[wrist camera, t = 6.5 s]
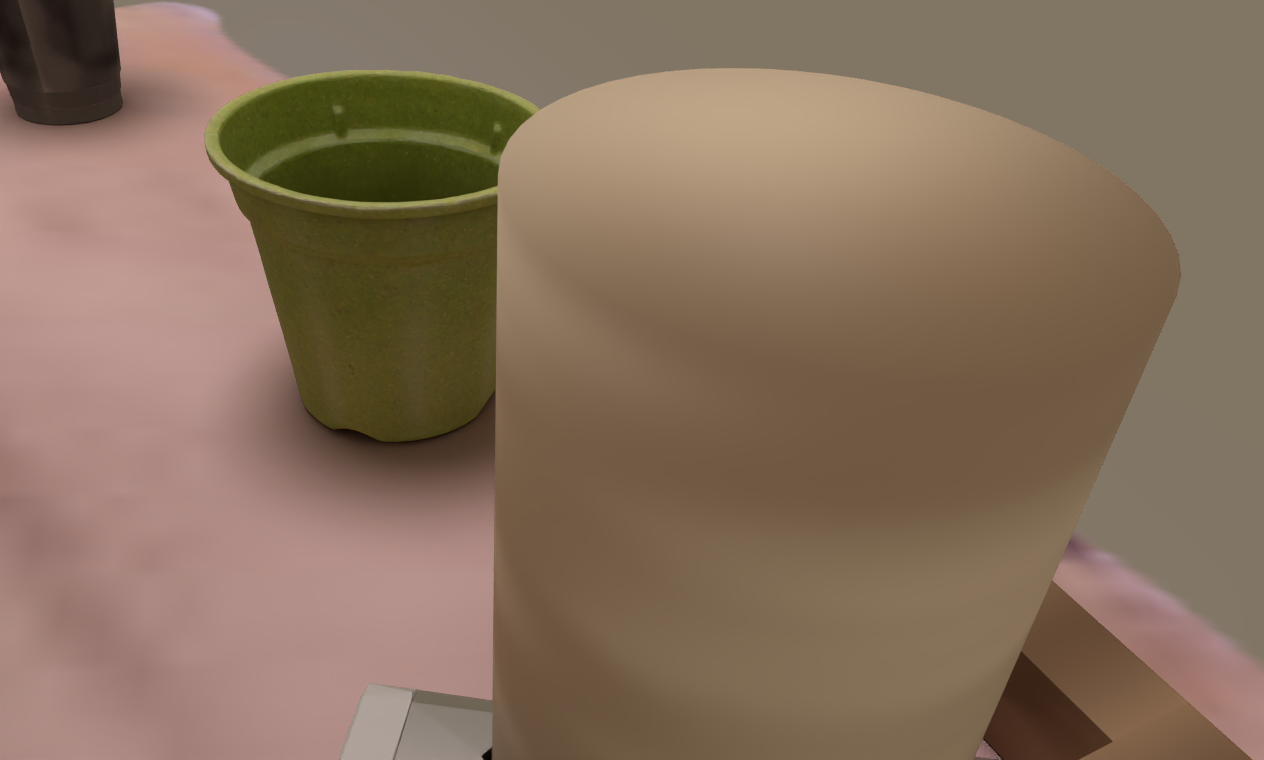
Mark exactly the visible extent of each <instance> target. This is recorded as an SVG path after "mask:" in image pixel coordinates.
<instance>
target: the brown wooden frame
mask: <svg viewBox="0 0 1264 760" xmlns="http://www.w3.org/2000/svg"><path fill="white" fill-rule="evenodd" d="M983 738H984V739H985V740H986V741H987V742H988V743H989V744H990V745H991V746H992V747H993V749H994V750H995V751H996V752H997V753H998V754H999V755H1000V756H1001V757H1002V758H1003V759H1004V760H1252V759H1251V758H1250V757H1249V756H1248V755H1247V754H1245V753H1244V752H1243V751H1242V750H1241V749H1240V748H1239V747H1238V746H1237V745H1235V744H1234V743H1233V742H1232V741H1231V740H1230V739H1229V738H1228V737H1226V736H1225V735H1224V734H1223V733H1222V732H1221V731H1220V730H1219V729H1218V728H1216V727H1215V726H1214V725H1213V724H1212V723H1211V722H1210V721H1209V720H1207V719H1206V718H1205V717H1204V716H1203V715H1202V714H1201V713H1200V712H1199V711H1197V710H1196V709H1195V708H1194V707H1193V706H1192V705H1191V704H1190V703H1188V702H1187V701H1186V700H1185V699H1184V698H1183V697H1182V696H1181V695H1180V694H1178V693H1177V692H1176V691H1175V690H1174V689H1173V688H1172V687H1171V686H1169V685H1168V684H1167V683H1166V682H1165V681H1164V680H1163V679H1162V678H1161V677H1159V676H1158V675H1157V674H1156V673H1155V672H1154V671H1153V670H1152V669H1150V668H1149V667H1148V666H1147V665H1146V664H1145V663H1144V662H1143V661H1142V660H1140V659H1139V658H1138V657H1137V656H1136V655H1135V654H1134V653H1133V652H1131V651H1130V650H1129V649H1128V648H1127V647H1126V646H1125V645H1124V644H1123V643H1121V642H1120V641H1119V640H1118V639H1117V638H1116V637H1115V636H1114V635H1112V634H1111V633H1110V632H1109V631H1108V630H1107V629H1106V628H1105V627H1104V626H1102V625H1101V624H1100V623H1099V622H1098V621H1097V620H1096V619H1095V618H1093V617H1092V616H1091V615H1090V614H1089V613H1088V612H1087V611H1086V610H1085V609H1083V608H1082V607H1081V606H1080V605H1079V604H1078V603H1077V602H1076V601H1074V600H1073V599H1072V598H1071V597H1070V596H1069V595H1068V594H1067V593H1066V592H1064V591H1063V590H1062V589H1061V588H1060V587H1059V586H1058V585H1057V584H1055V583H1054V582H1053V581H1051V584H1050V586H1049V588H1048V590H1047V593H1046V595H1045V597H1044V600H1043V602H1042V604H1041V606H1040V609H1039V611H1038V613H1037V615H1036V618H1035V620H1034V622H1033V625H1032V627H1031V629H1030V631H1029V634H1028V636H1027V638H1026V641H1025V643H1024V645H1023V647H1022V650H1021V652H1020V654H1019V657H1018V659H1017V661H1016V663H1015V666H1014V668H1013V670H1012V673H1011V675H1010V677H1009V679H1008V682H1007V684H1006V686H1005V689H1004V691H1003V693H1002V695H1001V698H1000V700H999V702H998V705H997V707H996V709H995V711H994V714H993V716H992V718H991V721H990V723H989V725H988V727H987V730H986V732H985V734H984V737H983Z"/></svg>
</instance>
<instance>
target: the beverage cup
mask: <svg viewBox="0 0 1264 760" xmlns="http://www.w3.org/2000/svg"><path fill="white" fill-rule="evenodd" d="M120 70H121V66H120V57H119V48H118V39H117V30H116V20H115V11H114V3H113V0H0V73H1V76H2V78H3V80H4V83H6V85H7V87H8V90H9V92H10V95H11V97H12V99H13V101H14V105H15V109H16V112H17V114H18V116H20V117H22V118H23V119H25V120H28V121H32V122H36V123H41V124H52V125H61V124H77V123H84V122H90V121H94V120H98V119H102V118H104V117H107V116H109V115H111V114H114V113H115V112H116V111H118V110H119V109H120V108H121V106H122V103H123V101H122V96H121V91H120V88H121V82H120Z"/></svg>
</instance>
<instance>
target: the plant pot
mask: <svg viewBox="0 0 1264 760" xmlns="http://www.w3.org/2000/svg"><path fill="white" fill-rule="evenodd" d="M539 110H540V109H538V108H537V107H536V106H535V105H533V104H532V103H530V102H529V101H527V100H525V99H523V98H521V97H519V96H517V95H514V94H512V93H510V92H508V91H503V90H501V89H499V88H496V87H492V86H489V85H486V84H483V83H479V82H475V81H471V80H464V79H460V78H457V77H453V76H448V75H439V74H433V73H426V72H425V73H424V72H413V71H393V70H349V71H337V72H326V73H317V74H311V75H304V76H299V77H295V78H291V79H287V80H283V81H278V82H275V83H272V84H269V85H267V86H264V87H259V88H257V89H255V90H252V91H250V92H248V93H246V94H243V95H241V96H239V97H237V98H236V99H234V100H232V101H230V102H229V103H227V104H226V105H225V106H223V107H222V108H221V109H220V110H219V111H218V112H217V113H216V114H215V115H214V116H213V117H212V118H211V119H210V121H209V123H208V124H207V127H206V129H205V134H204V138H205V147H206V151H207V155H208V157H209V160H210V162H211V163H212V165H213V166H214V167H215V169H216V170H217V171H218V172H219V173H220V174H221V175H222V176H223V177H224V178H225V179H227V180H228V181H229V183H230V186H231V189H232V192H233V194H234V197H235V200H236V203H237V205H238V207H239V209H240V210H241V212H242V213H243V214H244V216H245V217H246V218H247V219H248V220H249V221H250V223H251V226H252V229H253V233H254V236H255V239H256V243H257V246H258V249H259V253H260V256H261V260H262V263H263V267H264V270H265V274H266V278H267V281H268V285H269V288H270V291H271V295H272V298H273V301H274V305H275V308H276V312H277V315H278V318H279V322H280V325H281V329H282V332H283V335H284V339H285V342H286V345H287V349H288V352H289V356H290V360H291V363H292V367H293V370H294V374H295V377H296V381H297V384H298V388H299V392H300V396H301V399H302V401H303V404H304V405H305V407H306V409H307V410H308V411H309V412H310V413H311V414H312V415H313V416H314V417H315V418H316V419H317V420H318V421H320V422H321V423H323V424H324V425H326V426H327V427H329V428H331V429H341V428H345V429H351V430H356V431H359V432H361V433H364V434H366V435H368V436H370V437H372V438H374V439H377V440H379V441H385V442H402V441H413V440H420V439H425V438H430V437H434V436H437V435H441V434H444V433H447V432H450V431H452V430H455V429H457V428H459V427H461V426H463V425H465V424H466V423H468V422H470V421H471V420H473V419H474V418H475V417H476V416H477V415H478V414H479V413H480V411H481V410H482V408H483V407H484V405H485V403H486V402H487V400H488V399H489V397H490V396H491V395H492V393H493V392H494V391H495V389H496V316H497V218H498V171H499V165H500V159H501V155H502V153H503V151H504V149H505V147H506V145H507V143H508V140H509V139H510V138H511V136H512V135H513V134H514V133H515V132H516V131H517V129H518V128H519V127H520V126H521V125H522V124H523V123H524V122H525V121H527V120H528V119H529V118H530V117H532V116H533V115H534V114H535V113H537V112H538V111H539Z"/></svg>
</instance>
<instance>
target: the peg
mask: <svg viewBox="0 0 1264 760" xmlns="http://www.w3.org/2000/svg"><path fill="white" fill-rule="evenodd" d="M1180 278H1181V272H1180V262H1179V254H1178V252H1177V249H1176V247H1175V244H1174V242H1173V239H1172V237H1171V235H1170V233H1169V232H1168V230H1167V229H1166V227H1165V226H1164V224H1163V223H1162V221H1161V220H1160V218H1159V217H1158V215H1157V214H1156V213H1155V212H1154V211H1153V210H1152V209H1151V208H1150V207H1149V205H1148V204H1147V203H1146V202H1145V201H1144V200H1143V199H1142V198H1141V197H1140V196H1139V195H1138V194H1137V193H1136V192H1134V191H1133V190H1132V189H1131V188H1129V187H1128V186H1127V185H1126V184H1125V183H1124V182H1122V181H1121V180H1120V179H1119V178H1118V177H1116V176H1114V175H1113V174H1112V173H1110V172H1109V171H1107V170H1106V169H1104V168H1103V167H1101V166H1100V165H1098V164H1097V163H1096V162H1094V161H1093V160H1091V159H1089V158H1087V157H1085V156H1084V155H1082V154H1080V153H1079V152H1077V151H1075V150H1073V149H1072V148H1070V147H1068V146H1066V145H1064V144H1062V143H1060V142H1058V141H1056V140H1054V139H1052V138H1050V137H1048V136H1046V135H1044V134H1042V133H1040V132H1037V131H1035V130H1033V129H1031V128H1028V127H1026V126H1023V125H1021V124H1018V123H1016V122H1014V121H1011V120H1008V119H1006V118H1004V117H1001V116H998V115H995V114H992V113H990V112H987V111H984V110H981V109H978V108H975V107H972V106H969V105H966V104H963V103H959V102H956V101H953V100H949V99H946V98H942V97H939V96H935V95H931V94H927V93H923V92H919V91H915V90H911V89H907V88H903V87H898V86H893V85H888V84H883V83H878V82H873V81H868V80H862V79H856V78H848V77H843V76H837V75H828V74H820V73H811V72H801V71H789V70H775V69H749V68H719V69H718V68H716V69H692V70H682V71H681V70H680V71H668V72H661V73H654V74H646V75H639V76H634V77H629V78H625V79H620V80H615V81H611V82H607V83H604V84H600V85H597V86H593V87H590V88H587V89H583V90H581V91H578V92H576V93H574V94H571V95H569V96H566V97H564V98H561V99H559V100H557V101H555V102H554V103H552V104H550V105H548V106H547V107H545V108H543V109H541V110H539V111H538V112H537V113H535V114H534V115H533V116H532V117H530V118H529V119H528V120H527V121H525V122H524V123H523V124H522V125H521V126H520V127H519V128H518V129H517V131H516V132H515V133H514V134H513V135H512V136H511V138H510V139H509V140H508V143H507V145H506V147H505V149H504V151H503V153H502V155H501V159H500V165H499V171H498V218H497V316H496V415H495V514H494V612H493V711H492V760H973V759H974V757H975V755H976V752H977V750H978V748H979V746H980V743H981V741H982V739H983V737H984V734H985V732H986V730H987V727H988V725H989V723H990V721H991V718H992V716H993V714H994V711H995V709H996V707H997V705H998V702H999V700H1000V698H1001V695H1002V693H1003V691H1004V689H1005V686H1006V684H1007V682H1008V679H1009V677H1010V675H1011V673H1012V670H1013V668H1014V666H1015V663H1016V661H1017V659H1018V657H1019V654H1020V652H1021V650H1022V647H1023V645H1024V643H1025V641H1026V638H1027V636H1028V634H1029V631H1030V629H1031V627H1032V625H1033V622H1034V620H1035V618H1036V615H1037V613H1038V611H1039V609H1040V606H1041V604H1042V602H1043V600H1044V597H1045V595H1046V593H1047V590H1048V588H1049V586H1050V584H1051V581H1052V579H1053V577H1054V574H1055V572H1056V570H1057V568H1058V565H1059V563H1060V561H1061V558H1062V556H1063V554H1064V552H1065V549H1066V547H1067V545H1068V542H1069V540H1070V538H1071V536H1072V533H1073V531H1074V529H1075V526H1076V524H1077V522H1078V519H1079V517H1080V515H1081V513H1082V510H1083V508H1084V506H1085V504H1086V501H1087V499H1088V497H1089V494H1090V492H1091V490H1092V488H1093V485H1094V483H1095V481H1096V478H1097V476H1098V474H1099V472H1100V469H1101V467H1102V465H1103V463H1104V460H1105V458H1106V455H1107V453H1108V451H1109V449H1110V447H1111V444H1112V442H1113V440H1114V437H1115V435H1116V433H1117V430H1118V428H1119V426H1120V424H1121V421H1122V419H1123V417H1124V415H1125V412H1126V410H1127V408H1128V405H1129V403H1130V401H1131V398H1132V396H1133V394H1134V392H1135V389H1136V387H1137V385H1138V382H1139V380H1140V378H1141V376H1142V373H1143V371H1144V369H1145V366H1146V364H1147V362H1148V360H1149V357H1150V355H1151V353H1152V351H1153V348H1154V346H1155V344H1156V342H1157V339H1158V337H1159V334H1160V332H1161V330H1162V328H1163V326H1164V323H1165V321H1166V319H1167V316H1168V314H1169V312H1170V309H1171V307H1172V305H1173V303H1174V300H1175V298H1176V296H1177V291H1178V287H1179V282H1180Z"/></svg>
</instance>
